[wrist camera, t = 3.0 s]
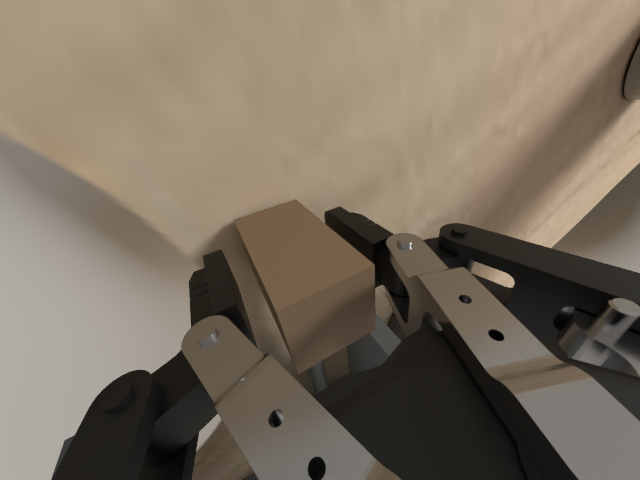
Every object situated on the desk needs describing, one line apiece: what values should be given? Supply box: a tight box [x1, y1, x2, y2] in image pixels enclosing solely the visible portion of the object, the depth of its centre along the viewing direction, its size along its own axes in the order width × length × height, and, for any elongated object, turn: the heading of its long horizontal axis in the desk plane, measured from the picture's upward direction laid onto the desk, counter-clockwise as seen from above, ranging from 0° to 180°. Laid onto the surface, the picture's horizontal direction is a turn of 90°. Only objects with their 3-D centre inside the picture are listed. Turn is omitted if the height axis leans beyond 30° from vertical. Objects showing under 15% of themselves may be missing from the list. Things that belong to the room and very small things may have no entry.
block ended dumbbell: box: [234, 200, 375, 394], centre depth 15 cm, size 5×24×6 cm, turn 9°
